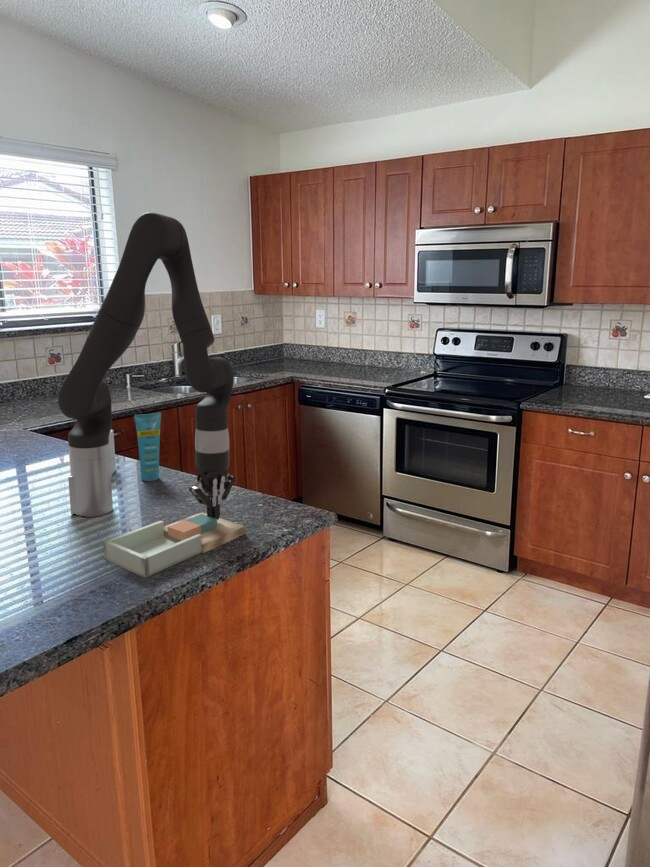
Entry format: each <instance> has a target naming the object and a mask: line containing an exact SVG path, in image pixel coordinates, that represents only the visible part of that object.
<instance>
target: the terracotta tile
mask: <svg viewBox="0 0 650 867" xmlns="http://www.w3.org/2000/svg"><path fill="white" fill-rule="evenodd" d="M197 534H201V525H198V524H195V523H192V522H189V521H186V520H184V521H182V522H179V523H177V524H174V525H171V526H169V527H168V536H171V537H174V538H177V539H179V540H185V539H187V538H190V537H192V536H194V535H197Z"/></svg>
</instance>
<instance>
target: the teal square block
mask: <svg viewBox="0 0 650 867" xmlns="http://www.w3.org/2000/svg"><path fill="white" fill-rule="evenodd" d="M186 521H189V522H192V523H195V524H198V525H201V534H203V533H205V532H207V531H210V530H212V529H214V528H217V519H216V518H213V517H209V516H206V515H203V514H200V515H197V516H195V517H192V518H190V519H187V520H186Z"/></svg>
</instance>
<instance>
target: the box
mask: <svg viewBox="0 0 650 867" xmlns="http://www.w3.org/2000/svg"><path fill="white" fill-rule="evenodd" d="M164 526H165V521H163V520H159V521H156V522H153V523H151V524H147V525H145V526H143V527H140V528H137V529H134V530H131V531H129V532H126V533H122V534H120V535H117V536H115V537H112V538H110V539H109V538H108V539H106V540H103V543H102V546H103V560H104V561H107V562H109V563H111V564H114V565H116V566H118V567H120V568H122V569H125V570H127V571H129V572H132V573H134V574H136V575H138V576H140V577H142V578H147V577H150V576H152V575H154V574H157V573H159V572H161V571H164V570H166V569H169V568H170V567H173V566H175V565H178V564H180V563H182V562H184V561H186V560H188V559H191V558H193V557H195V556H197V555H199V554H203V553H202V535H200V534H197V535H194V536H192V537H190V538H187V539H185V540H182V541H180V542H178V541H175V540H173V539H170V538H168V537H165V536H164Z"/></svg>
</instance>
